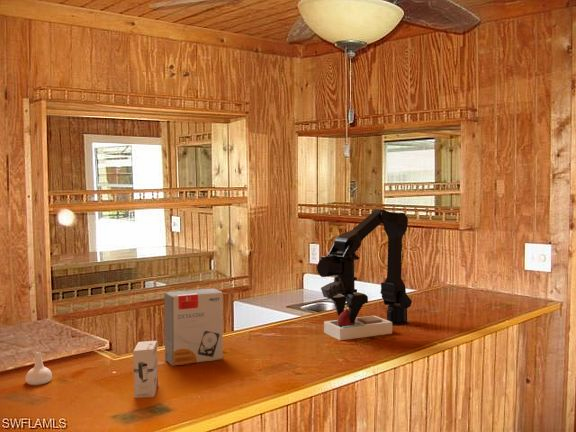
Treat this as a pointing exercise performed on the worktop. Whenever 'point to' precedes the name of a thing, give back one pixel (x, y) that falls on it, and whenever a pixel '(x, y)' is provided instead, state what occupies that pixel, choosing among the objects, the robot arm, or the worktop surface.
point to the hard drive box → (193, 326)
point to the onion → (344, 319)
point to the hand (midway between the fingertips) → (346, 320)
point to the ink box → (145, 369)
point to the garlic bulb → (38, 373)
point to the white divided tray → (358, 328)
